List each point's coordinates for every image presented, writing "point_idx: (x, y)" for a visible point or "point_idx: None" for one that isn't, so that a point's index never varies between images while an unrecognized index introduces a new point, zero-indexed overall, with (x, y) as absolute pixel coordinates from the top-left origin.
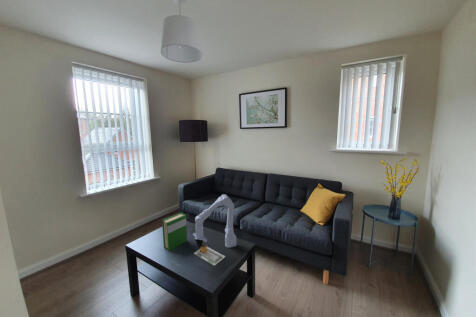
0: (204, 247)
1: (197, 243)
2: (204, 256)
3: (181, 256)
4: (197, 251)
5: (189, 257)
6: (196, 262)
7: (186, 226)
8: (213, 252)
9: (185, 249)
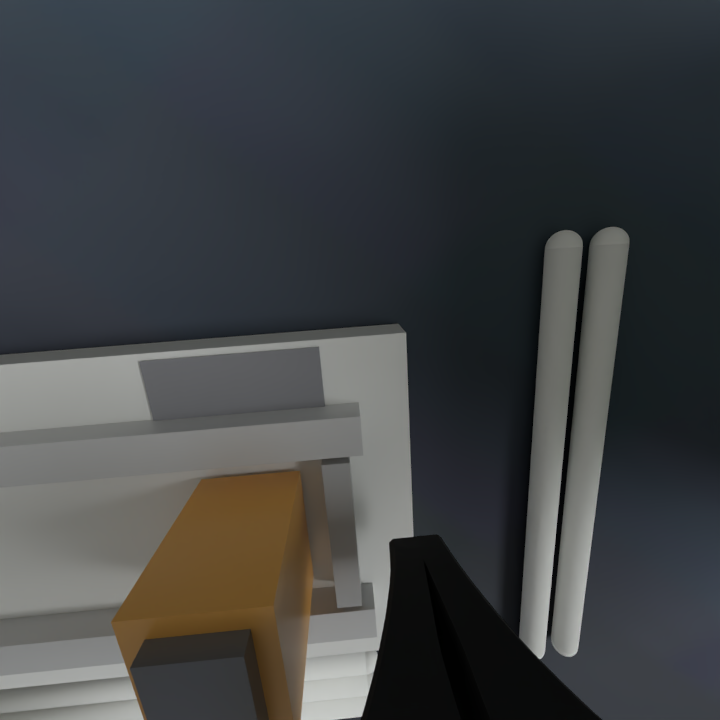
0: (128, 671)
1: (496, 661)
2: (59, 434)
3: (605, 68)
4: (350, 426)
5: (405, 197)
6: (114, 202)
7: None
8: (28, 646)
9: (712, 311)
